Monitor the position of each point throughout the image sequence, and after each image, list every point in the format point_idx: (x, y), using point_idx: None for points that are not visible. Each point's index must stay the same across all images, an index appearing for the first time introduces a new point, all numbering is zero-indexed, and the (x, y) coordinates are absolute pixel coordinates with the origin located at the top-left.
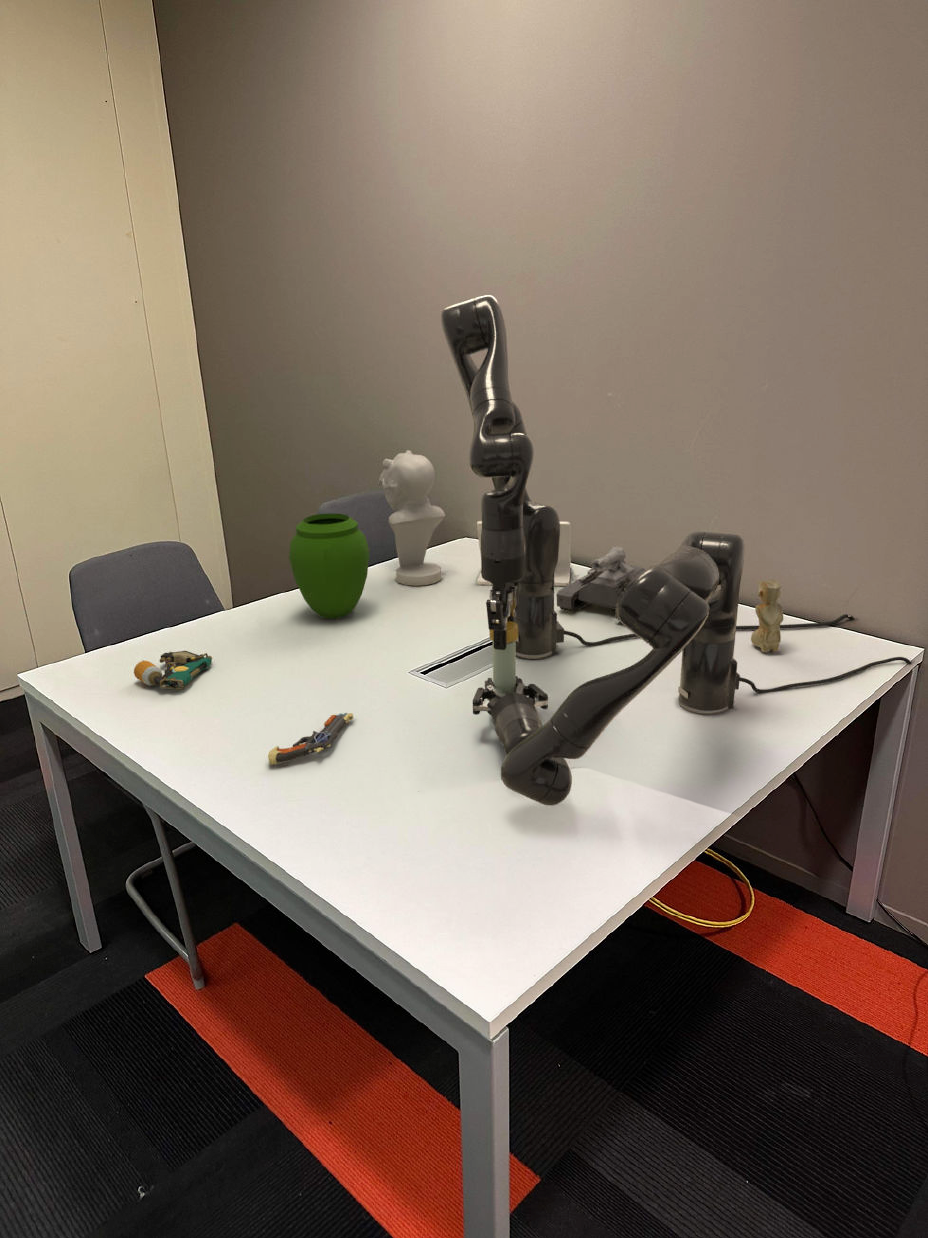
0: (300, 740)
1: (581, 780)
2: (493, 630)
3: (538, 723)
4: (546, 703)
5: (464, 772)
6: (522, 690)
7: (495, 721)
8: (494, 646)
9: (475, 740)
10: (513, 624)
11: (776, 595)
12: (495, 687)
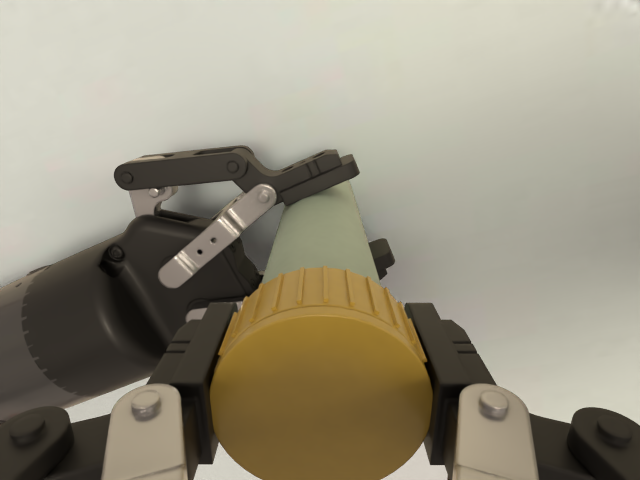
0: None
1: (104, 406)
2: (171, 379)
3: None
4: None
5: (11, 167)
6: None
7: (38, 274)
8: (207, 310)
9: (181, 146)
10: (360, 465)
11: None
12: (286, 209)
